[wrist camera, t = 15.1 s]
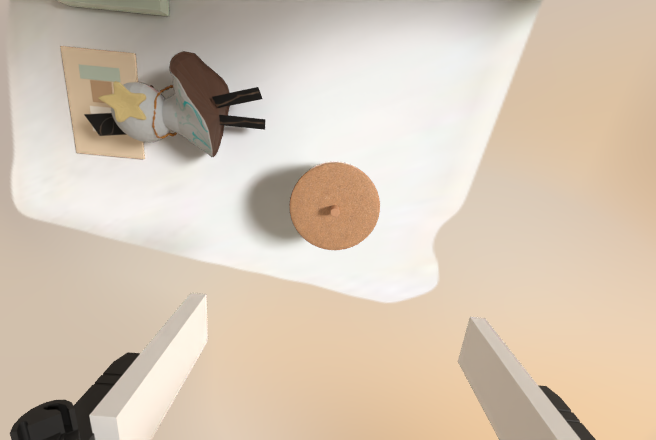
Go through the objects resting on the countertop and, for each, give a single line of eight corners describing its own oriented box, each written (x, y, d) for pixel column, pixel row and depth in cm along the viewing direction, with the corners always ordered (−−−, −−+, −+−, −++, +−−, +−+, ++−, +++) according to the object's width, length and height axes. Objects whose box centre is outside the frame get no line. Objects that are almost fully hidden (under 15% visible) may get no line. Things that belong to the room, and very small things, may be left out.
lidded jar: (384, 173, 43) (398, 186, 34) (353, 240, 46) (359, 268, 37) (312, 143, 42) (307, 149, 33) (286, 214, 45) (274, 237, 36)
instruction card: (135, 54, 38) (133, 53, 38) (144, 158, 42) (142, 159, 42) (63, 46, 38) (59, 45, 38) (79, 152, 42) (76, 152, 42)
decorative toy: (265, 44, 35) (69, 23, 32) (263, 93, 29) (21, 74, 26) (266, 128, 44) (113, 118, 41) (265, 178, 39) (86, 172, 35)
